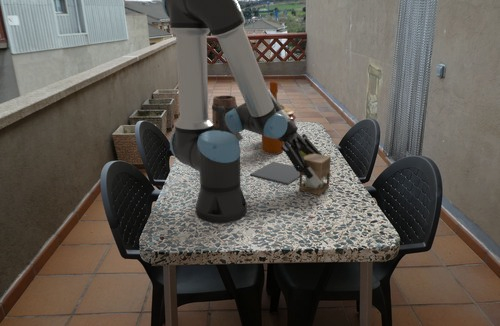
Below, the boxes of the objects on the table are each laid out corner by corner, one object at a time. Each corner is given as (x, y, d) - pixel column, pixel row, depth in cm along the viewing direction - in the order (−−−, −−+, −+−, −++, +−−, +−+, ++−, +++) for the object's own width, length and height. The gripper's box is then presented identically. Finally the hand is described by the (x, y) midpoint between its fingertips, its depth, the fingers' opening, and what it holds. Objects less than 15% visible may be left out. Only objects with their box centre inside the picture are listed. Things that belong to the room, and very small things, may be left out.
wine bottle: (288, 153, 168) (290, 82, 158) (267, 156, 165) (267, 83, 154) (278, 146, 177) (279, 79, 166) (258, 149, 173) (258, 80, 163)
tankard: (211, 133, 199) (210, 93, 193) (244, 133, 198) (244, 93, 191) (201, 147, 177) (199, 103, 171) (238, 147, 176) (238, 103, 169)
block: (305, 189, 132) (305, 177, 130) (311, 185, 135) (311, 173, 134) (317, 192, 129) (318, 180, 128) (323, 188, 133) (323, 175, 131)
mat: (250, 175, 144) (250, 173, 144) (273, 162, 157) (273, 161, 157) (288, 184, 136) (288, 183, 136) (309, 170, 148) (309, 169, 148)
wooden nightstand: (299, 189, 132) (300, 158, 128) (309, 182, 137) (310, 152, 133) (319, 194, 127) (321, 163, 124) (328, 187, 133) (330, 156, 129)
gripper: (290, 126, 143) (329, 177, 139) (259, 140, 127) (302, 197, 124) (303, 114, 138) (344, 166, 135) (273, 126, 122) (318, 185, 119)
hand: (324, 181), depth 129 cm, fingers closed on wooden nightstand, 7 cm apart
